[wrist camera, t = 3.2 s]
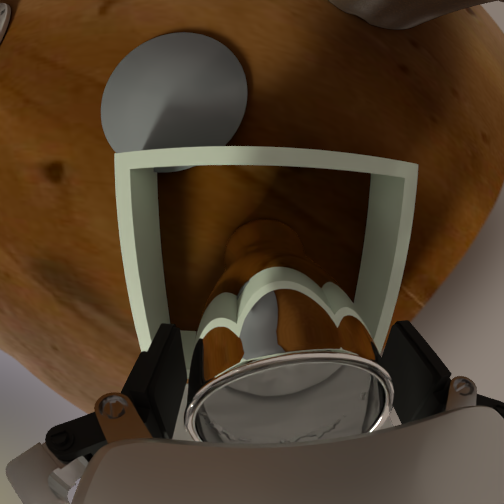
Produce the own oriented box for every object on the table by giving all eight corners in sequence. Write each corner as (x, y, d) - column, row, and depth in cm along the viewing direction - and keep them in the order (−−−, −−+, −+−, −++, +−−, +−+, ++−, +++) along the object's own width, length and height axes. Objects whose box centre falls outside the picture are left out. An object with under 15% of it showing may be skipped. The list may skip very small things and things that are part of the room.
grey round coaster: (112, 49, 15) (107, 46, 14) (249, 33, 15) (249, 28, 14) (105, 176, 18) (100, 177, 18) (245, 170, 19) (245, 170, 18)
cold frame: (144, 153, 18) (114, 153, 13) (382, 160, 18) (418, 164, 14) (162, 337, 23) (147, 374, 19) (355, 337, 24) (373, 371, 19)
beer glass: (211, 219, 20) (138, 361, 6) (305, 206, 20) (424, 318, 6) (227, 302, 22) (209, 477, 8) (311, 290, 22) (379, 451, 8)
